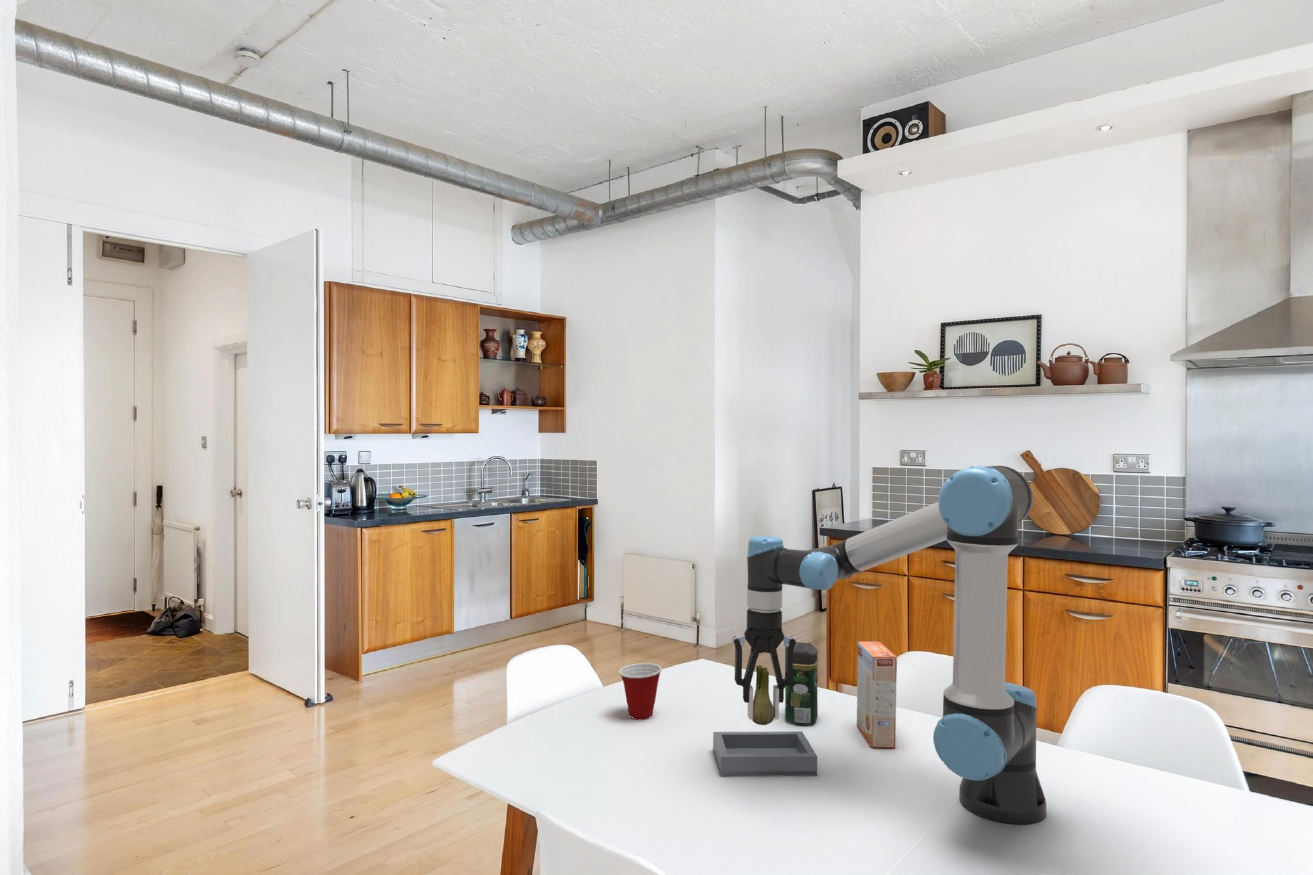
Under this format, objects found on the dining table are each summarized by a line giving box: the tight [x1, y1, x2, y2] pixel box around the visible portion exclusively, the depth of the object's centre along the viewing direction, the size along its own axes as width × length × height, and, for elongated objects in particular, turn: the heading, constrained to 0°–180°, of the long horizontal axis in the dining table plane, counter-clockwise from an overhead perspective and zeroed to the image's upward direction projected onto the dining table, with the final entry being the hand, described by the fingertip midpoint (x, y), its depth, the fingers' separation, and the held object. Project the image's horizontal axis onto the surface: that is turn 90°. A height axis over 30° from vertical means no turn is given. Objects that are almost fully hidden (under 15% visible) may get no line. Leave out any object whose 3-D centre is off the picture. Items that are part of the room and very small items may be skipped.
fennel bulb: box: [751, 664, 775, 726], centre depth 169 cm, size 6×5×12 cm
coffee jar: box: [784, 641, 819, 726], centre depth 196 cm, size 10×8×19 cm
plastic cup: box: [618, 662, 663, 720], centre depth 197 cm, size 11×11×12 cm
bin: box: [712, 730, 818, 777], centre depth 169 cm, size 14×20×4 cm
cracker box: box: [856, 640, 898, 749], centre depth 184 cm, size 14×6×21 cm, turn 179°
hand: (763, 717), depth 169 cm, fingers closed on fennel bulb, 5 cm apart
